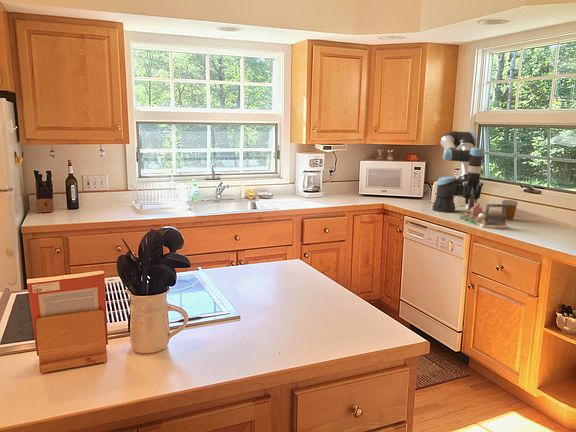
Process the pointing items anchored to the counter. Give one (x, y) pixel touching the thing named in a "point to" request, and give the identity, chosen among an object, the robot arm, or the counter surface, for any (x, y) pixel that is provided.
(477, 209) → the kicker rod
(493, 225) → the pitch
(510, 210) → the disposable coffee cup
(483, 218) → the ball
